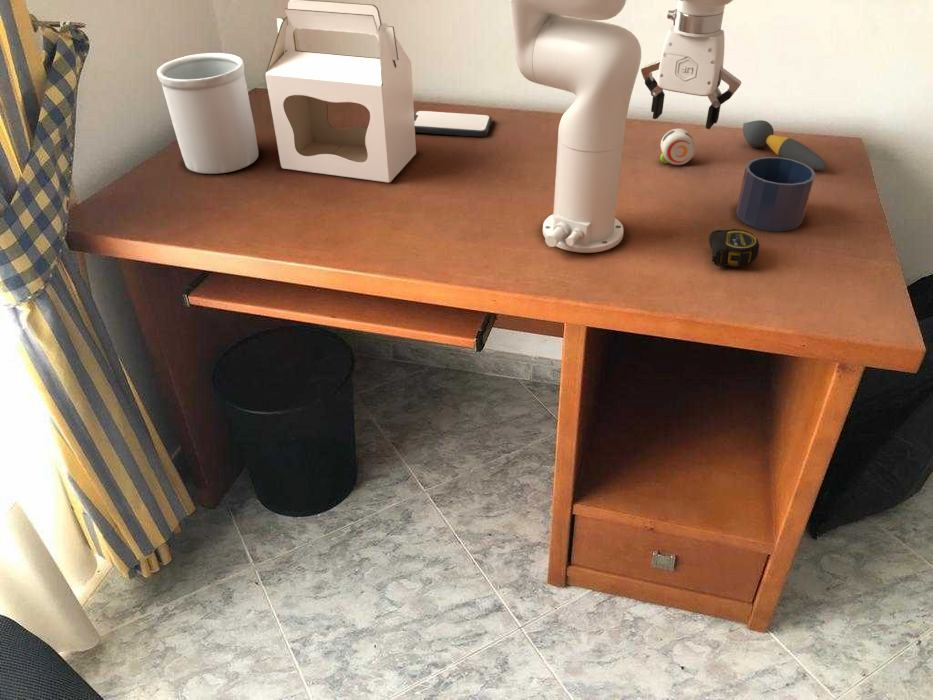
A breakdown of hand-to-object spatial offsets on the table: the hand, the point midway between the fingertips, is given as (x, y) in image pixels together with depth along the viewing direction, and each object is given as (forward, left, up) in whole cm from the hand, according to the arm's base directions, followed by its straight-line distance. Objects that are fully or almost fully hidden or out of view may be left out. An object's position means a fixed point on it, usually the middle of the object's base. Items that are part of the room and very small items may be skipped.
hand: (683, 121), depth 139 cm
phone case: (-7, +45, -8) cm, 46 cm away
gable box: (-30, +53, -8) cm, 61 cm away
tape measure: (-31, -18, -8) cm, 36 cm away
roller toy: (-1, 0, -8) cm, 8 cm away
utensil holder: (-41, +75, -8) cm, 86 cm away
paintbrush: (+11, -16, -8) cm, 21 cm away
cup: (-14, -20, -8) cm, 25 cm away
